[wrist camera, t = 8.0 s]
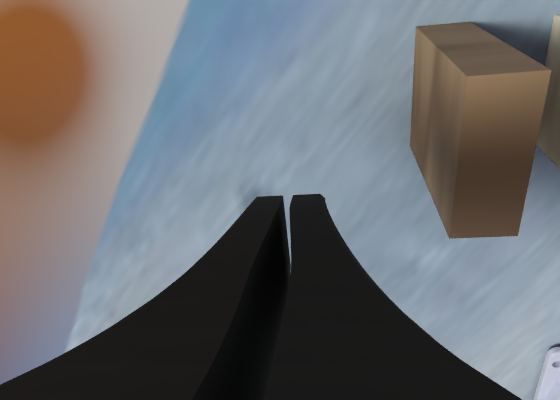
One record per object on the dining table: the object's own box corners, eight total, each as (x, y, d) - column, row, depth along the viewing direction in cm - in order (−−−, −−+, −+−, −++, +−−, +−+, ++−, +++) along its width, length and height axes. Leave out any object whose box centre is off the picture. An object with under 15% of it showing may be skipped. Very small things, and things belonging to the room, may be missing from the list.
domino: (456, 142, 20) (517, 236, 14) (409, 145, 20) (449, 238, 14) (470, 21, 17) (551, 69, 11) (415, 26, 17) (467, 76, 11)
